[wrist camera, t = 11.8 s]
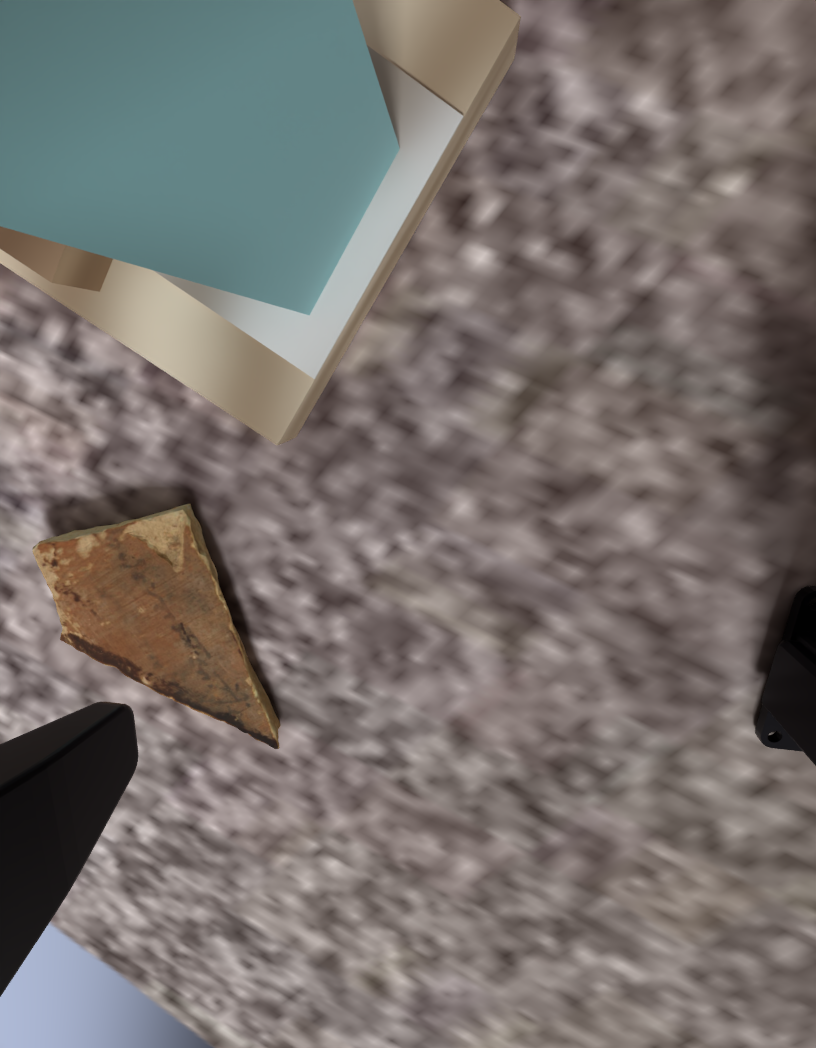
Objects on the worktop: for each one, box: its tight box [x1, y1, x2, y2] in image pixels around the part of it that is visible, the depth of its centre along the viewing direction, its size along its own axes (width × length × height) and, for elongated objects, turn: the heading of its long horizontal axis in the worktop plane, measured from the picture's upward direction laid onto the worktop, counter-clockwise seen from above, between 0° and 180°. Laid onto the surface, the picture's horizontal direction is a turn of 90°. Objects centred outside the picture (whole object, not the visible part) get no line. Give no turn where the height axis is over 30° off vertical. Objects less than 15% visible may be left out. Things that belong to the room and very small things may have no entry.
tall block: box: [0, 0, 400, 315], centre depth 9 cm, size 5×5×13 cm
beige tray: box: [0, 0, 521, 445], centre depth 14 cm, size 22×13×4 cm, turn 57°
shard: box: [33, 504, 281, 749], centre depth 22 cm, size 11×8×2 cm
